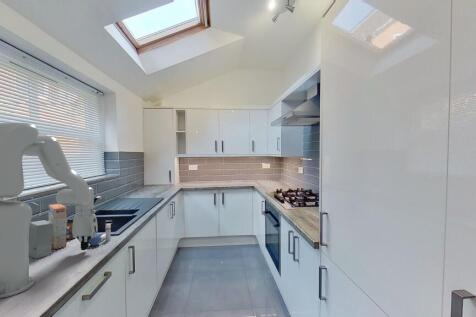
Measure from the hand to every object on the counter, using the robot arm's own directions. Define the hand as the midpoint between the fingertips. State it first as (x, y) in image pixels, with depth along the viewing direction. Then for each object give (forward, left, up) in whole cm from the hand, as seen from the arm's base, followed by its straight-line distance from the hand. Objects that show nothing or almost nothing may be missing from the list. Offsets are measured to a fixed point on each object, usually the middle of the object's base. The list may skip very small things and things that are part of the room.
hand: (84, 249), depth 118 cm
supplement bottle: (+20, +19, -2) cm, 28 cm away
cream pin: (+14, 0, 0) cm, 14 cm away
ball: (+9, 0, +2) cm, 9 cm away
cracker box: (+10, +20, -2) cm, 22 cm away
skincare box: (-3, +19, -2) cm, 19 cm away
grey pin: (+16, -3, -2) cm, 16 cm away
